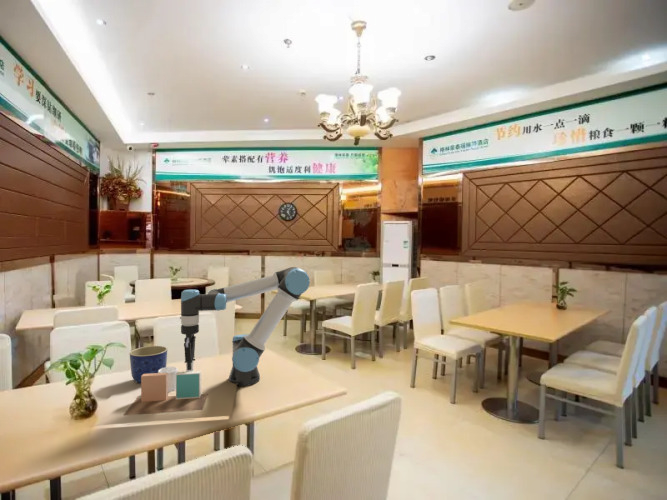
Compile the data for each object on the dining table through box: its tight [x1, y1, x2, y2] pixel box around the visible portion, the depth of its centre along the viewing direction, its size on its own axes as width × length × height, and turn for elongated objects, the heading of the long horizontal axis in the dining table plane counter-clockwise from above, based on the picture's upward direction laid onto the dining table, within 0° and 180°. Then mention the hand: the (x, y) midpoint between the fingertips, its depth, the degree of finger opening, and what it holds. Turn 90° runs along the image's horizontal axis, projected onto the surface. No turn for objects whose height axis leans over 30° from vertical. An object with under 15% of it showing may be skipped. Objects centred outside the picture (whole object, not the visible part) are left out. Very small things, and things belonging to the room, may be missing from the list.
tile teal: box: [175, 370, 202, 399], centre depth 165 cm, size 10×3×11 cm, turn 100°
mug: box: [158, 366, 179, 393], centre depth 173 cm, size 12×8×10 cm
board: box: [123, 393, 209, 416], centre depth 159 cm, size 30×16×1 cm, turn 100°
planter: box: [129, 345, 168, 384], centre depth 187 cm, size 17×17×15 cm
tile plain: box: [140, 373, 169, 402], centre depth 163 cm, size 10×3×11 cm, turn 100°
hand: (189, 376), depth 169 cm, fingers closed
